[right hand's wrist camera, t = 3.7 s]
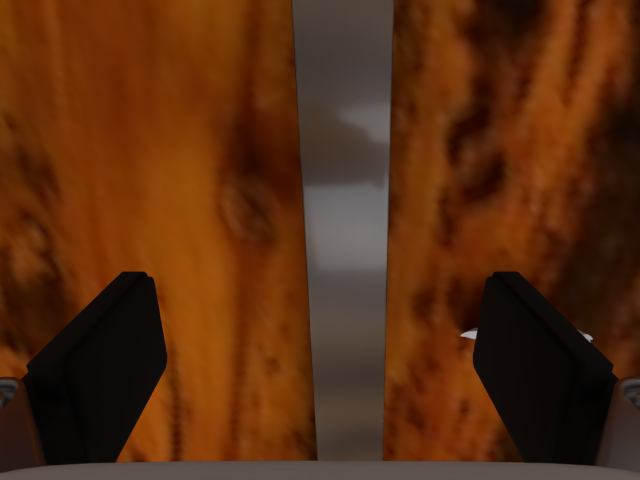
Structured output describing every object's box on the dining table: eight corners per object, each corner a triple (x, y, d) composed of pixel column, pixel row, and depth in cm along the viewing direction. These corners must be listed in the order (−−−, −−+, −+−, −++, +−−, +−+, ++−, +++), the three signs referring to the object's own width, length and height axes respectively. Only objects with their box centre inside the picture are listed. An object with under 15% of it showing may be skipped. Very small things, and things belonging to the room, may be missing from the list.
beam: (296, -10, 23) (288, -44, 17) (373, -13, 23) (395, -49, 17) (330, 640, 48) (332, 727, 41) (367, 639, 48) (376, 726, 41)
